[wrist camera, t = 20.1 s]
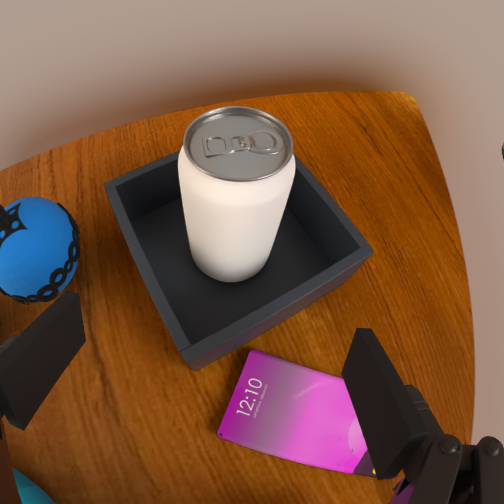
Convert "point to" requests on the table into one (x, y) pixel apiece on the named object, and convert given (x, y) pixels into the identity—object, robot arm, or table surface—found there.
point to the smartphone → (296, 416)
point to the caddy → (232, 293)
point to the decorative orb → (30, 490)
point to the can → (234, 188)
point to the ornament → (36, 249)
